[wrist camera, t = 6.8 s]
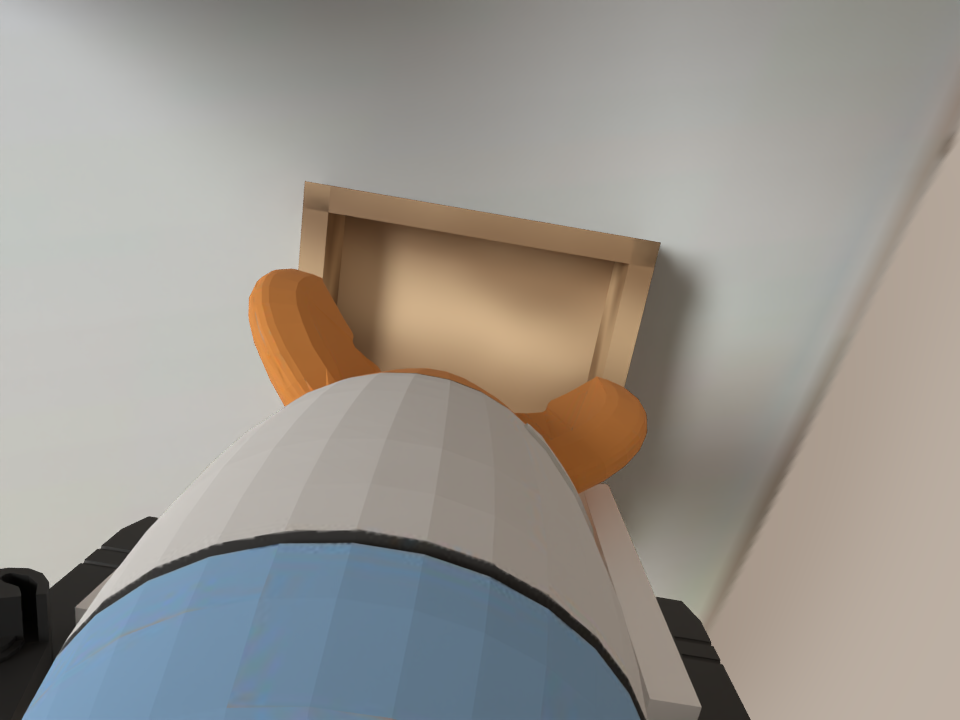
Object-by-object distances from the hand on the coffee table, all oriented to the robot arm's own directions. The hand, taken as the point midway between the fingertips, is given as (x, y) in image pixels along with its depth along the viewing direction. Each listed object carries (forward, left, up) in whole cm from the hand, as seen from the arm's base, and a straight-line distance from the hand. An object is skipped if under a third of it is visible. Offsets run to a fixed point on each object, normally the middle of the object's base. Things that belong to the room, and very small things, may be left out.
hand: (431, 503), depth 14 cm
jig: (+4, 0, -13) cm, 13 cm away
